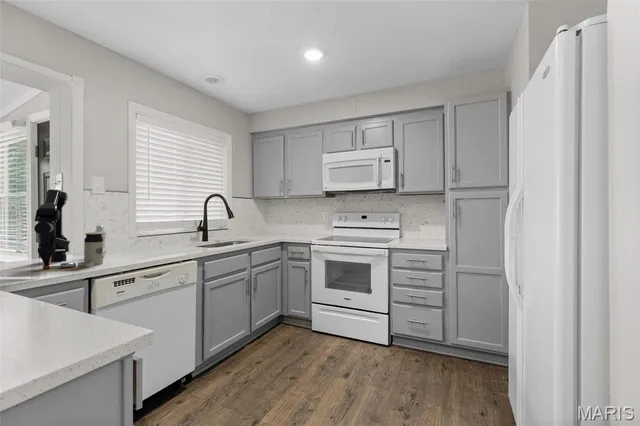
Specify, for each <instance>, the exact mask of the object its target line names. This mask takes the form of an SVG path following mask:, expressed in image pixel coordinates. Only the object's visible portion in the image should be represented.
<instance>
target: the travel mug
mask: <svg viewBox="0 0 640 426" xmlns="http://www.w3.org/2000/svg"><path fill="white" fill-rule="evenodd" d="M83 241H84V247H83V250H84V251H83V253H84V255H83V262H94V266H101V265H103V263H104V261H103V260H104V257H103V238H102V232H95V231H94V232H85V238H84V240H83Z"/></svg>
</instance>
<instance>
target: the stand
mask: <svg viewBox="0 0 640 426" xmlns="http://www.w3.org/2000/svg"><path fill="white" fill-rule="evenodd" d="M92 267H95V265H94V262H84V261H79V262H77V265H76V267H70V268H50V269H43V267H41V268H36V269H33V270H29V271H27V273H28V272H30V273H31V272H39V273H41V272H43V273H44V272H79V271H82V270H86V269H89V268H92Z"/></svg>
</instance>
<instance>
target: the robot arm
mask: <svg viewBox="0 0 640 426" xmlns="http://www.w3.org/2000/svg"><path fill="white" fill-rule="evenodd" d="M67 201H68V193H67V192H65V191H62V190H60V189H48V190H47V191H46V192H45V201H44V203H43V204H41V205H39V207H38V209H36V213H35V217H34V222H38V223H36V224H35V226H34V227H33V228H34V232H35V233H36V234H39V236H38V237H39V238H38V239H39V242H38V247H37V254H38V256H39V257H40V259H41V261H42V264H43V263H44V264H45V266H48V265H49V261H50V257H51V263H59V262H60V263H61V262H63V263H64V262H67V254H66V253H69V252H70V248H69V244H70V243H71V241H70V240H68V239H67V237H66V236H65V235H64V234H63V208H64V206H65V205H66V204H67Z"/></svg>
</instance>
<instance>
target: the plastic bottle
mask: <svg viewBox="0 0 640 426" xmlns="http://www.w3.org/2000/svg"><path fill="white" fill-rule="evenodd" d="M94 232H102V238H103V258H104V257H106V254H107V251H106V250H107V249H106V244H105V243H106V236H107V234H106V232H105V230H104V225H96V228H95V231H94Z"/></svg>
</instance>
